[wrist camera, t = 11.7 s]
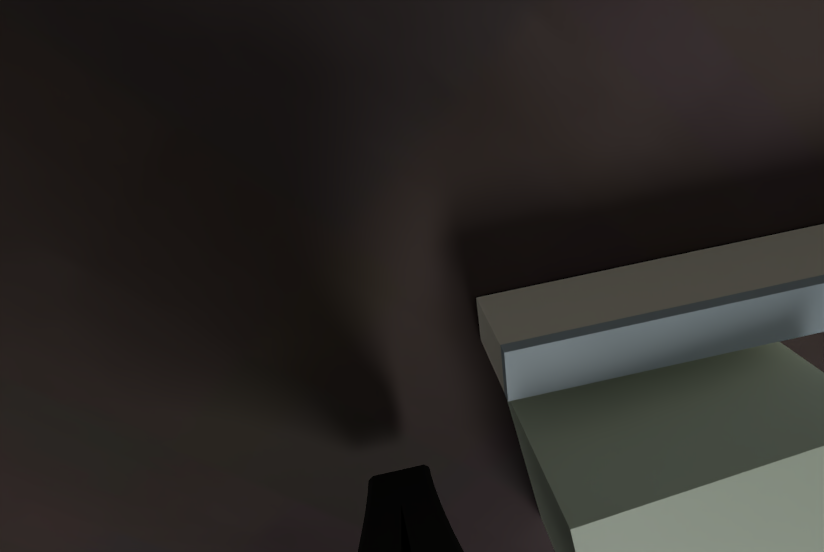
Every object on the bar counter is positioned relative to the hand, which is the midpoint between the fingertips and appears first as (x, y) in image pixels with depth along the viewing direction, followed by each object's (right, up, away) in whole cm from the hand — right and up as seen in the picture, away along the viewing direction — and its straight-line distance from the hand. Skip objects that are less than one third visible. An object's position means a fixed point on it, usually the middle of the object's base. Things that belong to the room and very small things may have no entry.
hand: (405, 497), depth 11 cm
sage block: (+6, +1, +2) cm, 7 cm away
